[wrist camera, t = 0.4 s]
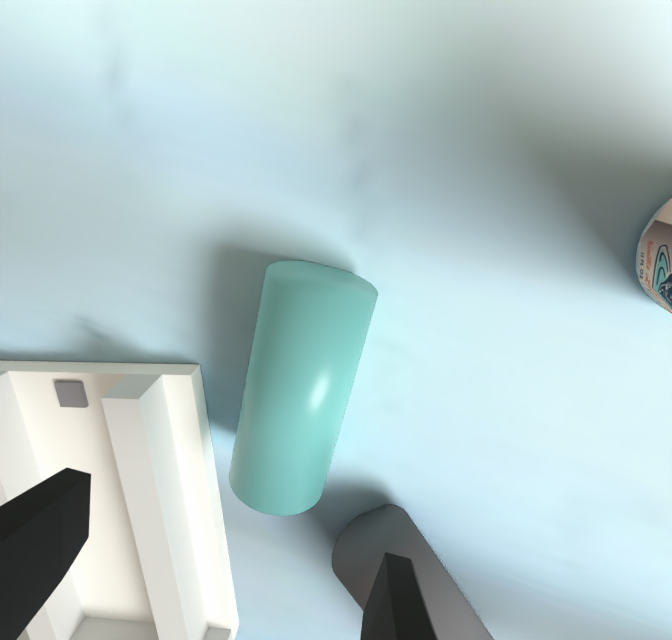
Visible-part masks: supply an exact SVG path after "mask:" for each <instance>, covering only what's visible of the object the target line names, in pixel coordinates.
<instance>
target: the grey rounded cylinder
mask: <svg viewBox="0 0 672 640" xmlns="http://www.w3.org/2000/svg"><path fill="white" fill-rule="evenodd" d="M385 552H387V553H391V554H395V555H399V556H402V557H406V558H410V559H411V560H412V562H413V563H414V567H415V571H416V574H417V578H418V581H419V584H420V588H421V591H422V594H423V597H424V600H425V603H426V606H427V609H428V612H429V615H430V618H431V621H432V624H433V627H434V630H435V632H436V635H437V638H438V640H494V639H493V637H492V636H491V635H490V633H489V632H488V630H487V629H486V627H485V626H484V624H483V623H482V621H481V620H480V618H479V617H478V616H477V614H476V613H475V611H474V610H473V608H472V607H471V605H470V604H469V602H468V601H467V600H466V598H465V597H464V595H463V594H462V592H461V591H460V589H459V588H458V586H457V585H456V584H455V582H454V581H453V579H452V578H451V576H450V575H449V573H448V572H447V570H446V569H445V568H444V566H443V565H442V563H441V562H440V560H439V559H438V557H437V556H436V554H435V553H434V552H433V550H432V549H431V547H430V546H429V544H428V543H427V541H426V540H425V538H424V537H423V536H422V534H421V533H420V531H419V530H418V528H417V527H416V525H415V524H414V522H413V521H412V520H411V518H410V517H409V515H408V514H407V512H406V511H405V510H404V509H402V508H401V507H399V506H396V505H384V506H381V507H379V508H376V509H374V510H371V511H369V512H366V513H364V514H361V515H359V516H358V517H356V518H355V519H354V520H353V521H352V522H351V523H350V524H349V525H348V526H347V527H346V528H345V529H344V531H343V532H342V533H341V535H340V537H339V538H338V540H337V542H336V544H335V547H334V550H333V554H332V568H333V571H334V573H335V575H336V576H337V577H338V579H339V580H340V581H341V583H342V584H343V585H344V586H345V588H346V589H347V590H348V592H349V593H350V594H351V595H352V597H353V598H354V599H355V601H356V602H357V603H358V604H359V606H360V607H361V608H362V610H363V611H364V609H365V606H366V603H367V600H368V598H369V595H370V592H371V589H372V587H373V584H374V581H375V579H376V576H377V573H378V570H379V568H380V565H381V562H382V559H383V557H384V554H385Z"/></svg>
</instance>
